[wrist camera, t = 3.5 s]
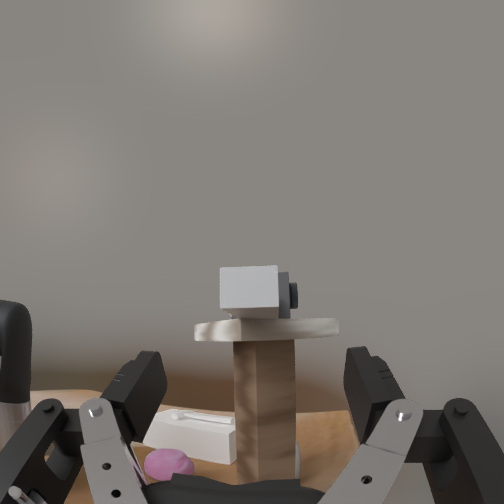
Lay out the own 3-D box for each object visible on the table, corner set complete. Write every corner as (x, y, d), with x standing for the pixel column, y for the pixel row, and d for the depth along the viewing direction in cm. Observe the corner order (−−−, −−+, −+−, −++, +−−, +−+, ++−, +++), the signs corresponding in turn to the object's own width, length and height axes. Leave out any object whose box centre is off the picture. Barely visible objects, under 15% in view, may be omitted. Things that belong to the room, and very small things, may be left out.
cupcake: (206, 495, 37) (202, 451, 40) (168, 510, 30) (161, 463, 33) (174, 480, 42) (170, 439, 45) (138, 490, 35) (132, 446, 38)
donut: (301, 492, 38) (302, 448, 41) (282, 493, 38) (282, 449, 41) (296, 471, 47) (296, 431, 50) (279, 472, 48) (279, 432, 51)
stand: (206, 532, 25) (194, 324, 35) (277, 513, 31) (275, 325, 40) (249, 577, 15) (240, 318, 25) (329, 543, 21) (337, 318, 31)
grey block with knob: (317, 304, 17) (310, 225, 18) (194, 308, 17) (197, 231, 19) (295, 323, 36) (294, 284, 37) (237, 325, 36) (237, 286, 38)
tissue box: (173, 434, 73) (171, 401, 76) (251, 446, 65) (250, 410, 68) (143, 445, 60) (140, 409, 63) (230, 465, 52) (228, 424, 55)
